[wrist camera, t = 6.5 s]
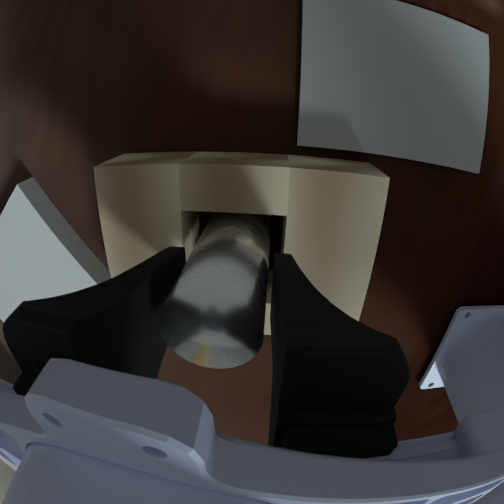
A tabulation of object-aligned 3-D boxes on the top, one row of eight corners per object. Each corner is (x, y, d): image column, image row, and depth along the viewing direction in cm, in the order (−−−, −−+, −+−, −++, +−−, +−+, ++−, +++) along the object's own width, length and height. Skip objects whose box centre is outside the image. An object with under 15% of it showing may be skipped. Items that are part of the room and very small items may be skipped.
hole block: (369, 162, 14) (390, 177, 11) (344, 302, 17) (353, 337, 15) (123, 153, 14) (93, 166, 12) (140, 287, 18) (121, 318, 15)
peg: (276, 203, 15) (274, 301, 8) (264, 257, 16) (252, 375, 9) (215, 191, 15) (159, 277, 8) (207, 245, 16) (159, 355, 9)
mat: (485, 35, 9) (488, 34, 9) (476, 172, 13) (479, 173, 13) (302, -15, 10) (303, -17, 10) (296, 144, 13) (297, 145, 13)
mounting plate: (-30, 250, 19) (-43, 261, 17) (17, 147, 15) (-3, 154, 13) (98, 390, 25) (91, 405, 23) (191, 348, 20) (185, 368, 19)
